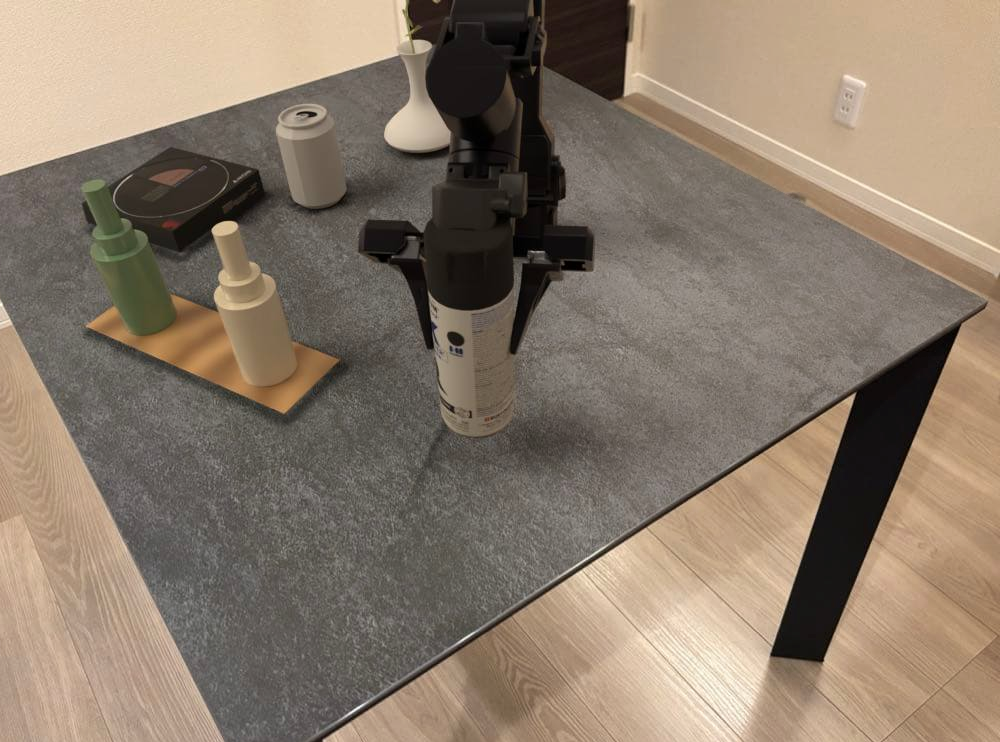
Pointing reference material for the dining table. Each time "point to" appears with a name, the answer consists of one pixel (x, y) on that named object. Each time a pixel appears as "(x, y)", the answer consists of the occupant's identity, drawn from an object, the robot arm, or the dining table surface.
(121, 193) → the portable cd player
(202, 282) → the dining table surface
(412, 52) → the flower in vase
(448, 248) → the spray can
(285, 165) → the can
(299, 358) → the board
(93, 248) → the green bottle
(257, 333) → the cream bottle
